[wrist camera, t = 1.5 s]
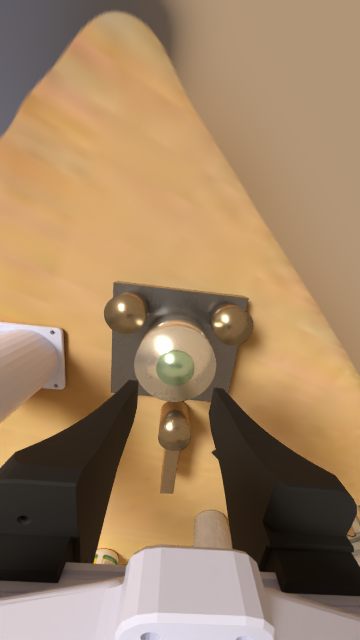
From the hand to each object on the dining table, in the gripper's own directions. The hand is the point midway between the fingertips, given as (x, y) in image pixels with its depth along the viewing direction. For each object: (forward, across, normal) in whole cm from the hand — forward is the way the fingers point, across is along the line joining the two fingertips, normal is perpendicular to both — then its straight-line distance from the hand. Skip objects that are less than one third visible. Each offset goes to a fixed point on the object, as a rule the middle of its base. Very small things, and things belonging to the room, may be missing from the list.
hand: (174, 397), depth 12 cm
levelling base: (+10, -1, +6) cm, 12 cm away
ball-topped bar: (+10, -1, +14) cm, 17 cm away
